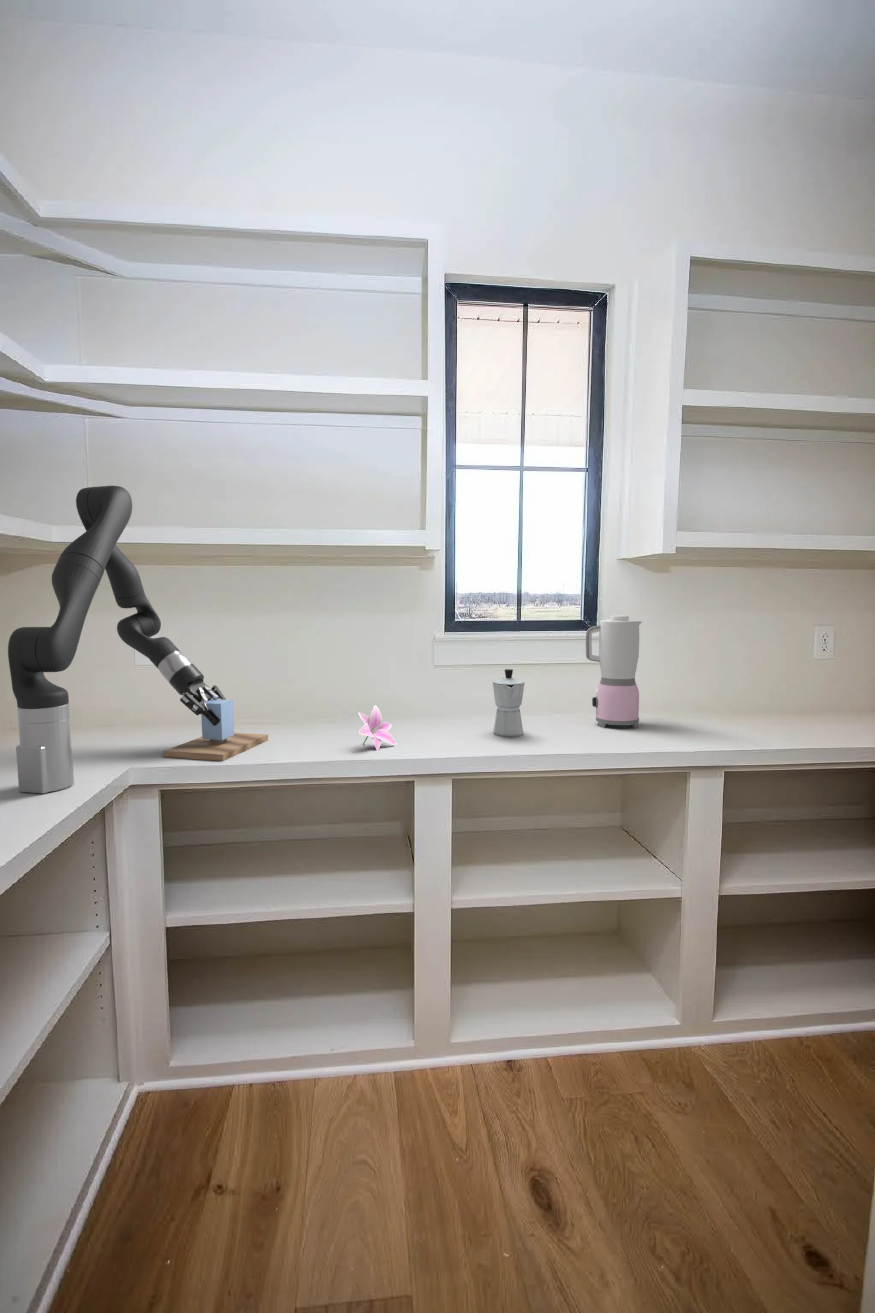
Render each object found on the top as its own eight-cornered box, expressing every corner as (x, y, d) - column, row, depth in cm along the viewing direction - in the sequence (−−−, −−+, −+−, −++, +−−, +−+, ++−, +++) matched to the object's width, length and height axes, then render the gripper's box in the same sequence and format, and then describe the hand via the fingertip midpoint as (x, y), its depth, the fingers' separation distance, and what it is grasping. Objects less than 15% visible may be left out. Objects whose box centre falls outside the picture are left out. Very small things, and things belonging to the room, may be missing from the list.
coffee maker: (527, 738, 185) (527, 672, 183) (494, 738, 185) (494, 672, 183) (520, 726, 200) (520, 665, 198) (490, 727, 199) (490, 665, 198)
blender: (634, 721, 207) (637, 614, 203) (643, 729, 195) (646, 616, 191) (581, 720, 208) (583, 614, 205) (586, 729, 196) (588, 616, 193)
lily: (351, 756, 171) (367, 725, 168) (340, 730, 180) (355, 699, 177) (392, 765, 177) (408, 735, 174) (379, 738, 186) (395, 709, 183)
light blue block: (222, 740, 172) (220, 703, 171) (202, 738, 173) (200, 702, 172) (234, 735, 177) (232, 700, 176) (214, 734, 178) (213, 699, 177)
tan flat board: (223, 761, 163) (221, 725, 162) (164, 757, 167) (162, 722, 166) (268, 740, 184) (267, 708, 183) (215, 737, 188) (213, 706, 187)
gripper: (172, 666, 168) (217, 716, 166) (205, 659, 182) (248, 706, 180) (154, 686, 170) (199, 737, 168) (188, 678, 184) (230, 725, 182)
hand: (224, 721), depth 174 cm, fingers closed on light blue block, 5 cm apart
